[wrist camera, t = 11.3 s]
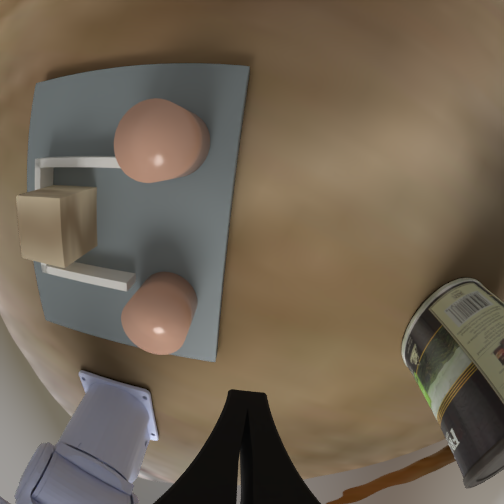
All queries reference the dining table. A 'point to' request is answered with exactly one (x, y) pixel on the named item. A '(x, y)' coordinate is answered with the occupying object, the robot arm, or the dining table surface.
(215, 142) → the slate board
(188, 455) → the dining table surface
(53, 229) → the maple cube
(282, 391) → the dining table surface
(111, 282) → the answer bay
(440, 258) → the dining table surface
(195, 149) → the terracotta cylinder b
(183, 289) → the pink rounded cylinder
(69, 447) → the robot arm
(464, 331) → the coffee can
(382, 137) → the dining table surface
